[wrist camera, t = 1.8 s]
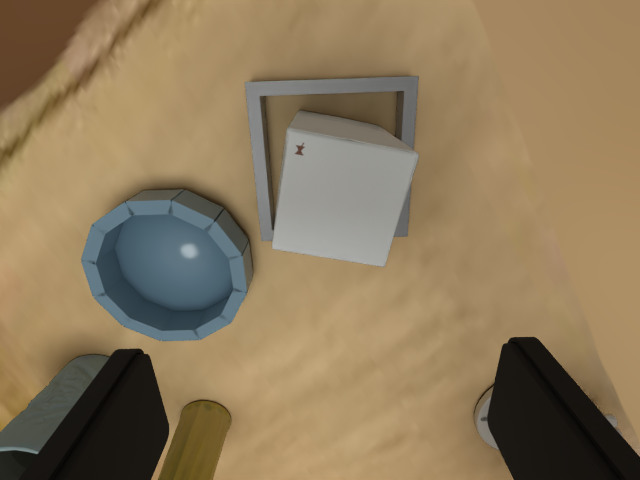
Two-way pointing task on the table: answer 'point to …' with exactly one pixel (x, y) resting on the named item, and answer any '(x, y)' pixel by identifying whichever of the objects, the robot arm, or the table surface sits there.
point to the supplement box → (341, 189)
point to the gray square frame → (258, 90)
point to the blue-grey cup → (45, 415)
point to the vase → (196, 442)
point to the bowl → (168, 265)
